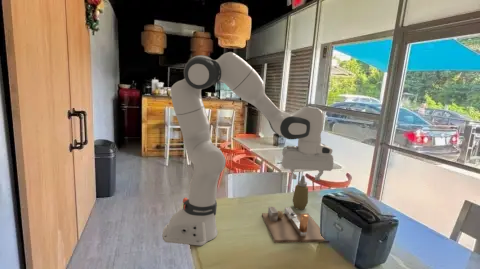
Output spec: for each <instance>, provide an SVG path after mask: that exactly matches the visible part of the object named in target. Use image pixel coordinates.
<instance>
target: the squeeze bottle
mask: <svg viewBox="0 0 480 269" xmlns="http://www.w3.org/2000/svg"><path fill="white" fill-rule="evenodd" d="M305 178H306V177H305V175H303V174H302V175H301V179H300V180H298V181H297V184H296V185H295V187H294V188H295V189H294V193H293V196H292V197H293V198H292V204H293V207H294V208H295V209H296V210H302V211H303V210H305V209H306V207H307V206H308V203H309V187H308V182H306V179H305Z"/></svg>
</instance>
